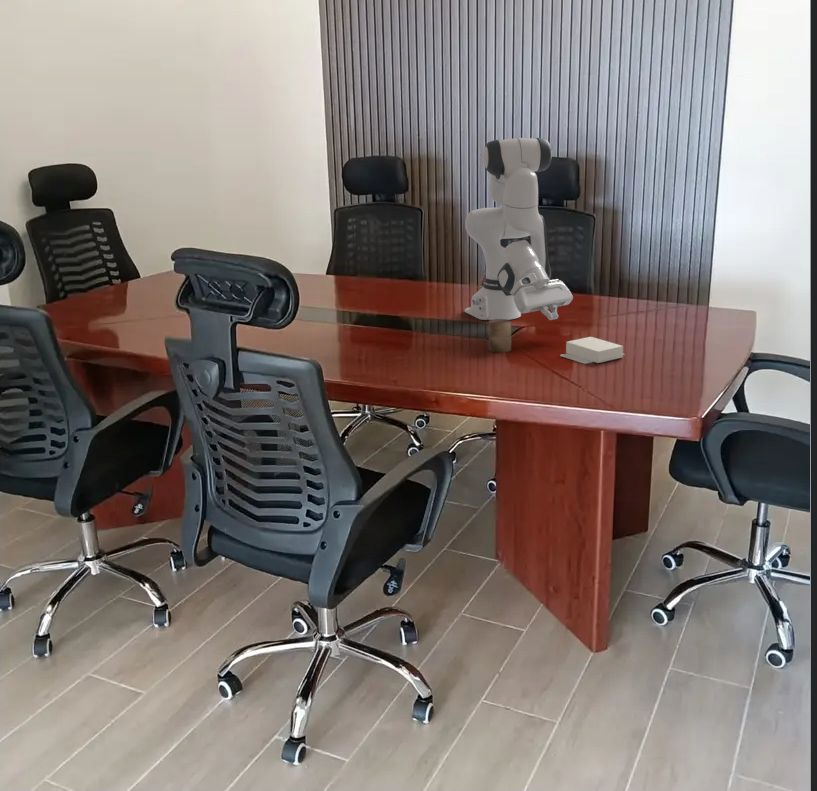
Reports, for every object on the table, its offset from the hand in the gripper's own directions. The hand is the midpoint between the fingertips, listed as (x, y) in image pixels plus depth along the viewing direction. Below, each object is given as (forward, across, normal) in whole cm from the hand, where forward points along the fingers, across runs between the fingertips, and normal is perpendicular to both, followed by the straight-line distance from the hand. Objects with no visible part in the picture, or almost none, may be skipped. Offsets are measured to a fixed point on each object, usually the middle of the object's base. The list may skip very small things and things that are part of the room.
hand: (554, 318), depth 280 cm
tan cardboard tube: (+3, +18, -9) cm, 20 cm away
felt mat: (+18, 0, +7) cm, 19 cm away
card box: (+12, 0, +4) cm, 13 cm away
